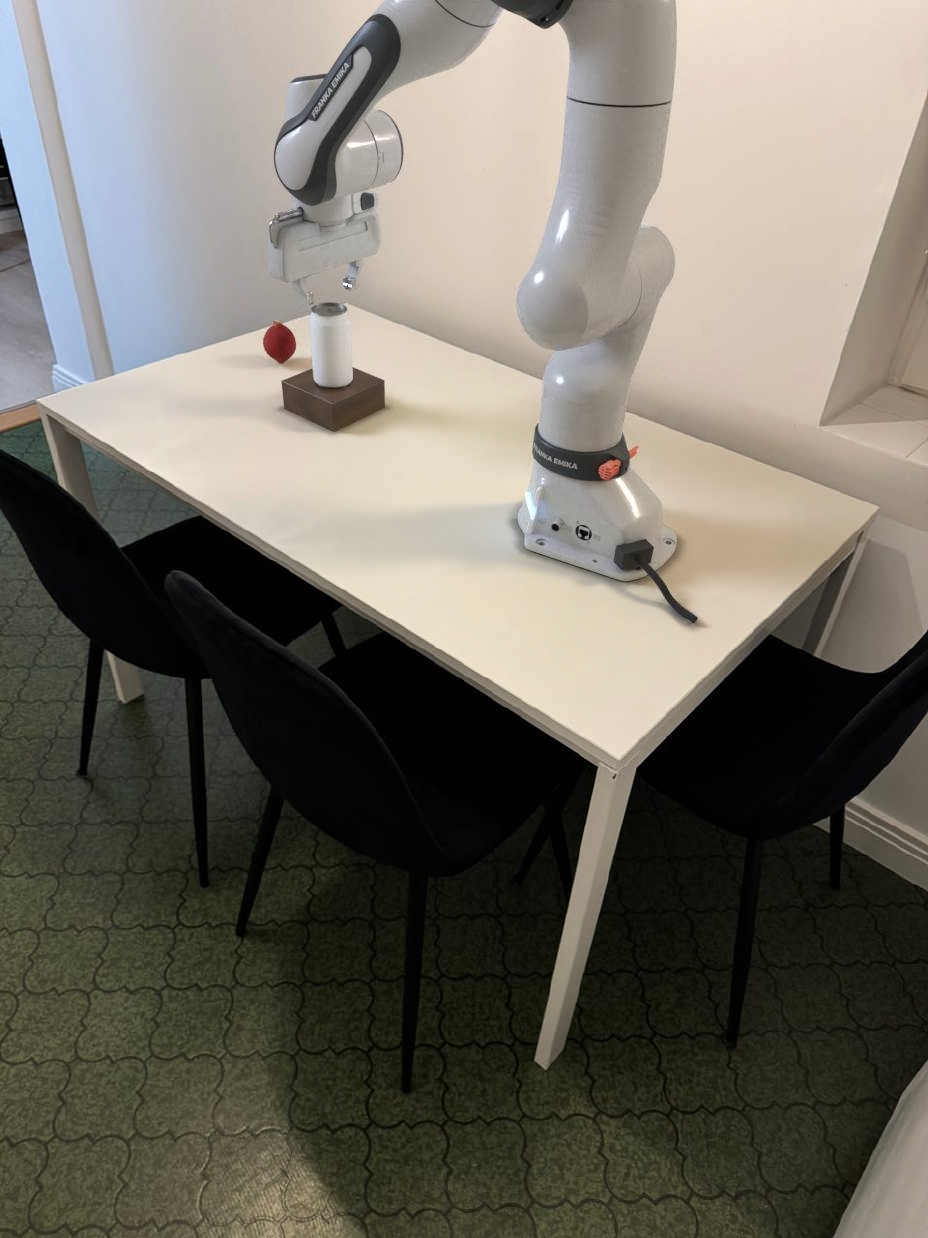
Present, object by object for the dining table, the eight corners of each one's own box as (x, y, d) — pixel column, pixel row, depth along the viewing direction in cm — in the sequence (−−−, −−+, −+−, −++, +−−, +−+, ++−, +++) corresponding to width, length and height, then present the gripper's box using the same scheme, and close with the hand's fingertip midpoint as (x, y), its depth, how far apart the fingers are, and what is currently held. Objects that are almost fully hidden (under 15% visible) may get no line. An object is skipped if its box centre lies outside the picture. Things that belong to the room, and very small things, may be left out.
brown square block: (385, 407, 153) (384, 379, 150) (334, 432, 146) (332, 403, 143) (335, 386, 159) (333, 358, 156) (283, 408, 152) (281, 380, 148)
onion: (287, 353, 169) (283, 311, 164) (303, 364, 165) (300, 321, 160) (259, 361, 166) (254, 318, 161) (275, 372, 162) (271, 328, 157)
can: (310, 374, 151) (305, 302, 143) (348, 370, 152) (345, 299, 145) (317, 390, 146) (312, 317, 138) (356, 387, 148) (353, 314, 140)
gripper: (283, 220, 124) (292, 319, 132) (386, 192, 136) (388, 285, 145) (253, 210, 127) (264, 308, 135) (356, 184, 139) (360, 275, 148)
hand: (329, 296), depth 140 cm, fingers open, 8 cm apart
